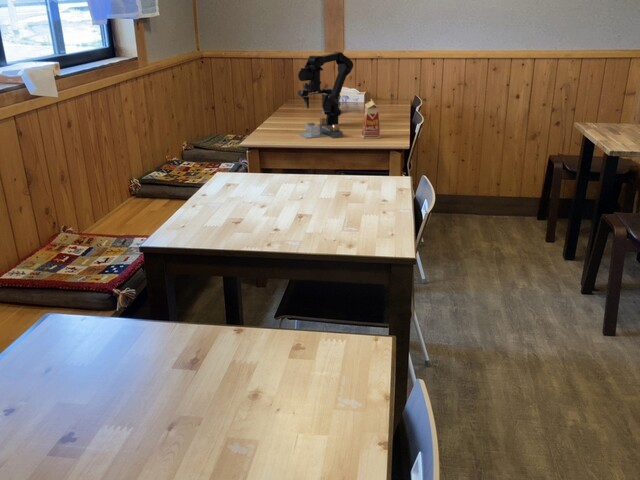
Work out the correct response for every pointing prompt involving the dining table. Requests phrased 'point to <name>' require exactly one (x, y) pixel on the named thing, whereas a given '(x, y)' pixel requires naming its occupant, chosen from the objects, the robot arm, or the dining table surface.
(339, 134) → the hand plane
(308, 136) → the rubber mat
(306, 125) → the grey metal block
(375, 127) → the milk carton
